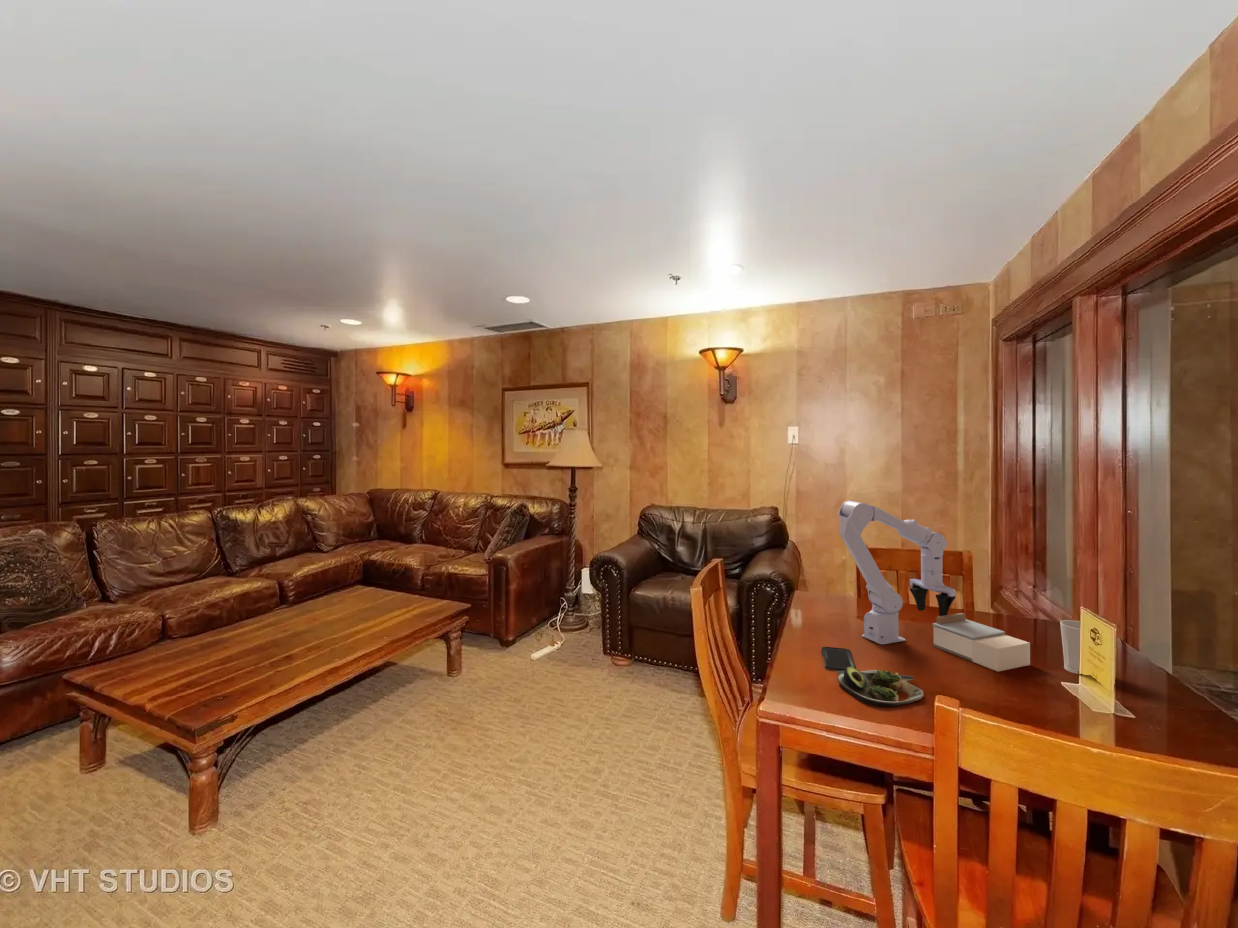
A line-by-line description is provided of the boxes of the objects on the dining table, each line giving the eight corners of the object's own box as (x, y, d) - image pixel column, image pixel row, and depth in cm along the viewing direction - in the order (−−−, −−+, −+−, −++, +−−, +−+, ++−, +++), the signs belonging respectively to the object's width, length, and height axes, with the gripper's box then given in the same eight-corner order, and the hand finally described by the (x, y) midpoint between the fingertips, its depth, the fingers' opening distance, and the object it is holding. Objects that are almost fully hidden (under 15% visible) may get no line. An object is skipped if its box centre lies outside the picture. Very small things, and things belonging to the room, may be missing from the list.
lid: (972, 639, 142) (972, 630, 142) (932, 625, 154) (932, 616, 154) (1004, 633, 146) (1004, 624, 146) (963, 619, 158) (963, 611, 158)
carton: (997, 671, 136) (997, 648, 136) (933, 646, 154) (933, 626, 154) (1030, 664, 140) (1030, 642, 140) (963, 640, 158) (963, 621, 158)
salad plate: (889, 670, 139) (889, 653, 139) (945, 701, 122) (945, 682, 121) (825, 679, 135) (825, 661, 134) (874, 712, 117) (873, 692, 117)
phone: (849, 648, 152) (856, 669, 137) (849, 652, 152) (856, 673, 137) (821, 646, 154) (824, 666, 140) (821, 649, 154) (824, 670, 140)
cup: (1093, 667, 137) (1093, 622, 137) (1106, 679, 130) (1106, 631, 130) (1055, 662, 141) (1055, 618, 141) (1066, 674, 134) (1066, 627, 133)
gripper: (963, 573, 155) (963, 618, 155) (921, 564, 169) (921, 605, 169) (945, 576, 153) (945, 621, 153) (904, 566, 167) (904, 608, 167)
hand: (932, 613), depth 161 cm, fingers open, 7 cm apart
